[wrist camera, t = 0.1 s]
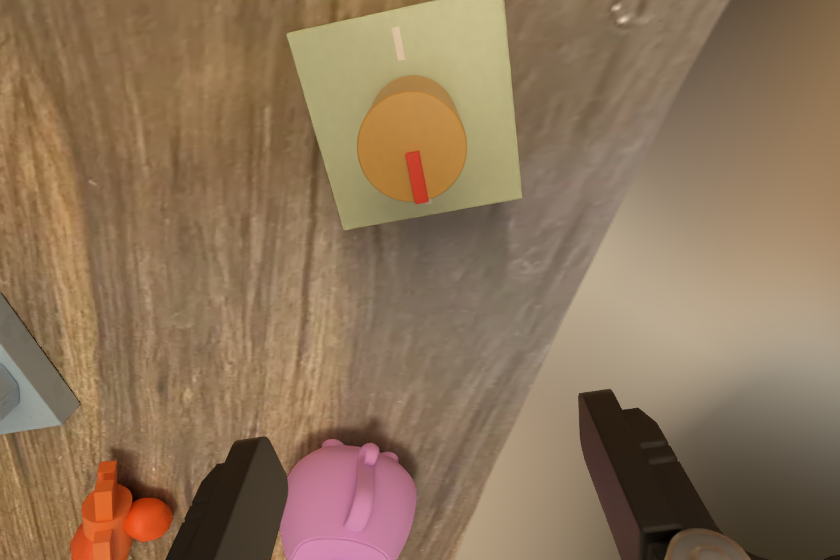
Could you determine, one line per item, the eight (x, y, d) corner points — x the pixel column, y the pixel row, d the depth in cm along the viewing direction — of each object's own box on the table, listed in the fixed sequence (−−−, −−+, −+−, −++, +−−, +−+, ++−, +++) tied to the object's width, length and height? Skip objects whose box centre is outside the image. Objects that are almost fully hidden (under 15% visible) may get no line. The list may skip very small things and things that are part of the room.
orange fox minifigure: (53, 510, 33) (65, 600, 39) (172, 498, 36) (168, 583, 42) (72, 451, 37) (80, 541, 43) (178, 445, 40) (173, 529, 46)
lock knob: (359, 85, 23) (342, 105, 18) (450, 66, 23) (459, 81, 17) (380, 173, 25) (370, 214, 20) (463, 157, 25) (474, 195, 20)
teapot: (438, 431, 38) (443, 546, 30) (385, 540, 45) (377, 658, 36) (308, 400, 36) (275, 513, 28) (274, 519, 43) (240, 636, 35)
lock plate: (297, 31, 24) (284, 33, 22) (495, -12, 23) (503, -16, 21) (349, 214, 29) (342, 232, 27) (514, 184, 28) (522, 199, 26)
